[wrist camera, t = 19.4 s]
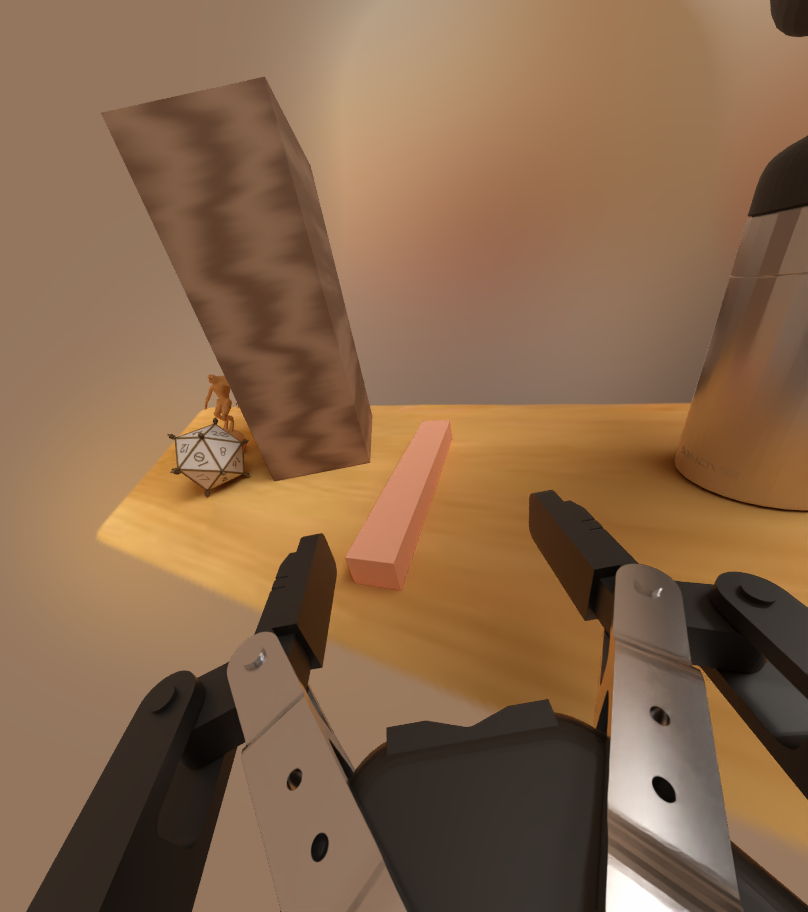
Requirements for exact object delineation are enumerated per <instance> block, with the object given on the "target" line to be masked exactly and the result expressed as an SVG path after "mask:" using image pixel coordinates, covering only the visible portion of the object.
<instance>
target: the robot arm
mask: <svg viewBox="0 0 808 912" xmlns="http://www.w3.org/2000/svg"><path fill="white" fill-rule="evenodd" d="M770 4H771V15H772V18H773V20H774V23H775V25H776V27H777V29H779V30H780V31H781V32H783V33H784V34H786V35H788V36H793V37H803V36H808V0H770ZM748 216H752V218H749V219H748V220H747V221H746V225H745V228H744V232H743V235H742V238H741V241H740V245H739V248H738V251H737V254H736V258H735V261H734V265H733V268H732V271H731V276H730V279H729V282H728V285H727V288H726V292H725V295H724V298H723V301H722V305H721V308H720V311H719V315H718V318H717V322H716V324H715V328H714V331H713V334H712V338H711V341H710V344H709V347H708V351H707V354H706V357H705V361H704V364H703V367H702V370H701V374H700V377H699V381H698V384H697V387H696V390H695V393H694V397H693V400H692V403H691V406H690V410H689V413H688V416H687V419H686V423H685V426H684V429H683V433H682V436H681V439H680V442H679V446H678V449H677V452H676V456H675V466H676V468H677V470H678V471H679V472H680V473H681V474H682V475H683V476H684V477H686V478H687V479H689V480H690V481H692V482H693V483H695V484H697V485H699V486H701V487H703V488H705V489H707V490H709V491H712V492H715V493H717V494H720V495H722V496H725V497H729V498H732V499H735V500H739V501H742V502H746V503H751V504H756V505H760V506H766V507H773V508H780V509H790V510H808V136H806V137H804V138H803V139H801V140H799V141H798V142H796V143H794V144H792V145H790V146H789V147H787V148H786V149H785V150H783V151H782V152H781V153H779V154H778V155H777V156H775V157H774V158H773V159H772V160H771V161H770V162H769V163H768V165H767V166H766V168H765V170H764V171H763V173H762V175H761V177H760V179H759V182H758V185H757V187H756V190H755V194H754V197H753V200H752V204H751V207H750V210H749V213H748ZM529 529H530V533H531V536H532V538H533V540H534V542H535V543H536V545H537V547H538V548H539V550H540V551H541V553H542V554H543V556H544V558H545V559H546V561H547V562H548V564H549V565H550V567H551V568H552V570H553V572H554V573H555V575H556V576H557V578H558V579H559V581H560V583H561V584H562V586H563V587H564V589H565V590H566V592H567V594H568V595H569V597H570V598H571V600H572V601H573V603H574V605H575V606H576V608H577V609H578V611H579V612H580V614H581V616H582V617H583V619H584V620H585V621H588V620H593V619H598V620H599V621H600V623H601V624H602V626H603V627H604V628H603V633H602V645H601V657H600V670H599V682H598V692H597V700H596V706H595V713H594V721H593V727H592V726H590V725H588V724H586V723H584V722H583V721H580V720H578V719H576V718H573V717H571V716H567V715H564V714H560V713H555V712H553V710H552V707H551V705H550V703H549V700H548V699H546V700H540V701H535V702H529V703H523V704H518V705H512V706H507V707H506V708H504V709H502V710H500V711H499V712H497V713H495V714H493V715H491V716H490V717H488V718H486V719H484V720H483V721H481V722H479V723H477V724H475V725H474V726H471V727H462V726H456V725H450V724H444V723H437V722H430V721H422V722H415V723H410V724H404V725H399V726H393V727H388V728H387V742H385V743H383V744H381V745H380V746H379V747H377V748H376V749H375V750H373V751H372V752H371V753H370V754H369V755H368V756H367V757H366V758H365V759H364V760H363V761H362V762H361V764H360V765H359V766H358V767H357V769H356V770H354V767H353V766H352V764H351V762H350V760H349V758H348V757H347V755H346V753H345V751H344V750H343V748H342V746H341V745H340V743H339V741H338V739H337V738H336V736H335V734H334V732H333V730H332V728H331V726H330V724H329V722H328V721H327V718H326V717H325V715H324V713H323V711H322V709H321V707H320V705H319V703H318V701H317V699H316V697H315V695H314V694H313V692H312V690H311V688H310V686H309V684H308V680H309V675H310V670H311V669H316V668H322V666H323V660H324V654H325V647H326V641H327V634H328V628H329V622H330V615H331V609H332V602H333V596H334V590H335V583H336V576H337V570H336V563H335V560H334V558H333V555H332V553H331V550H330V548H329V546H328V543H327V541H326V538H325V536H324V535H323V534H322V533H320V534H315V535H310V536H305V537H302V538H301V540H300V543H299V546H298V549H297V552H294V553H290V554H289V555H288V556H287V558H286V559H285V560H284V561H283V563H282V564H281V565H280V568H279V570H278V573H277V576H276V580H275V581H274V584H273V586H272V591H271V592H270V594H269V597H268V600H267V602H266V605H265V608H264V610H263V613H262V616H261V618H260V621H259V624H258V627H257V629H256V632H255V634H254V635H253V636H251V637H250V638H248V639H247V640H246V641H245V642H243V643H242V644H241V645H240V646H239V647H238V649H237V650H236V651H235V652H234V654H233V655H232V657H231V659H230V661H229V662H228V663H226V664H224V665H222V666H220V667H218V668H216V669H214V670H212V671H210V672H208V673H206V674H204V675H202V676H200V677H198V678H197V677H195V675H193V674H192V673H191V672H189V671H179V672H176V673H174V674H171V675H170V676H168V677H166V678H165V679H163V680H162V681H161V682H160V683H158V684H157V685H156V686H155V687H154V688H153V689H152V690H151V691H150V692H149V693H148V694H147V696H146V697H145V698H144V700H143V701H142V702H141V704H140V705H139V707H138V709H137V711H136V713H135V715H134V716H133V718H132V720H131V722H130V724H129V725H128V727H127V729H126V731H125V733H124V734H123V736H122V738H121V740H120V742H119V744H118V745H117V747H116V749H115V751H114V753H113V754H112V756H111V758H110V760H109V762H108V764H107V765H106V767H105V769H104V771H103V773H102V775H101V776H100V778H99V780H98V782H97V784H96V786H95V787H94V789H93V791H92V793H91V795H90V796H89V799H88V800H87V802H86V804H85V806H84V808H83V809H82V811H81V813H80V815H79V817H78V819H77V820H76V822H75V824H74V826H73V827H72V829H71V831H70V833H69V835H68V837H67V839H66V840H65V842H64V844H63V846H62V848H61V849H60V851H59V853H58V855H57V857H56V858H55V860H54V862H53V864H52V866H51V868H50V869H49V871H48V873H47V875H46V877H45V879H44V881H43V882H42V884H41V886H40V888H39V890H38V892H37V893H36V895H35V897H34V899H33V901H32V902H31V904H30V906H29V908H28V910H27V912H192V909H193V905H194V902H195V898H196V894H197V891H198V887H199V884H200V880H201V877H202V873H203V869H204V866H205V862H206V858H207V854H208V851H209V848H210V844H211V840H212V837H213V833H214V829H215V826H216V822H217V818H218V815H219V811H220V808H221V804H222V801H223V797H224V793H225V790H226V786H227V782H228V779H229V775H230V772H231V768H232V764H233V761H234V757H235V754H236V749H237V746H239V745H241V744H243V743H244V742H246V747H245V748H244V749H243V750H242V762H243V767H244V771H245V775H246V779H247V782H248V786H249V790H250V794H251V798H252V801H253V805H254V809H255V813H256V817H257V821H258V825H259V828H260V832H261V836H262V840H263V844H264V848H265V851H266V855H267V859H268V863H269V867H270V871H271V874H272V878H273V882H274V886H275V890H276V894H277V897H278V901H279V905H280V909H281V911H280V912H808V905H807V904H805V903H804V902H803V901H802V900H801V899H800V898H798V897H797V896H796V895H795V894H794V893H792V892H791V891H790V890H789V889H788V888H787V887H785V886H784V885H783V884H782V883H781V882H779V881H778V880H777V879H776V878H775V877H773V876H772V875H771V874H770V873H769V872H768V871H766V870H765V869H764V868H763V867H762V866H760V865H759V864H758V863H757V862H756V861H754V860H753V859H752V858H751V857H750V856H748V855H747V854H746V853H745V852H743V850H741V849H740V848H739V847H738V846H736V845H735V844H734V843H733V842H732V841H731V840H730V837H729V831H728V824H727V818H726V812H725V806H724V800H723V793H722V787H721V781H720V775H719V768H718V762H717V756H716V750H715V744H714V737H713V731H712V725H711V719H710V712H709V706H708V700H707V694H706V688H705V682H704V678H703V676H702V673H701V671H700V670H699V669H697V668H694V667H693V666H692V665H698V666H700V667H701V668H702V670H703V671H704V672H705V673H706V674H707V676H708V677H709V678H710V679H711V681H712V682H713V683H714V684H715V686H716V687H717V688H718V689H719V691H720V692H721V693H722V694H723V696H724V697H725V698H726V699H727V700H728V702H729V703H730V704H731V705H732V707H733V708H734V709H735V710H736V712H737V713H738V714H739V715H740V717H741V718H742V719H743V720H744V722H745V723H746V724H747V725H748V726H749V728H750V729H751V730H752V731H753V733H754V734H755V735H756V736H757V738H758V739H759V740H760V741H761V743H762V744H763V745H764V746H765V747H766V749H767V750H768V751H769V752H770V754H771V755H772V756H773V757H774V759H775V760H776V761H777V762H778V764H779V765H780V766H781V767H782V769H783V770H784V771H785V772H786V773H787V775H788V776H789V777H790V778H791V780H792V781H793V782H794V783H795V785H796V786H797V787H798V788H799V790H800V791H801V792H802V793H803V795H804V796H805V797H806V798H807V799H808V607H806V606H805V605H804V604H802V603H801V602H800V601H798V600H797V599H796V598H794V597H793V596H792V595H791V594H789V593H788V592H787V591H785V590H784V589H782V588H781V587H779V586H778V585H776V584H774V583H772V582H770V581H768V580H766V579H763V578H761V577H758V576H755V575H752V574H748V573H742V572H726V573H723V574H721V575H719V576H718V578H717V579H716V581H715V584H714V585H712V584H701V583H690V582H680V581H674V580H673V579H672V578H670V577H669V576H668V575H666V574H665V573H663V572H662V571H660V570H658V569H655V568H653V567H650V566H647V565H642V564H639V563H638V562H636V561H635V559H634V558H633V557H632V556H631V555H630V554H629V553H628V552H627V551H626V550H625V549H624V548H623V547H622V546H621V545H620V544H619V543H618V542H617V541H616V540H615V539H614V538H613V537H612V536H611V535H610V534H609V533H608V532H607V531H606V530H605V529H603V527H602V526H601V525H600V524H599V523H598V522H597V521H595V519H594V518H593V517H592V516H591V515H590V513H589V512H588V511H587V510H586V509H585V508H583V507H581V506H579V505H577V504H576V503H574V502H572V501H565V502H564V501H563V500H562V499H561V498H560V497H559V496H558V495H557V494H556V493H555V492H554V491H553V490H548V491H542V492H537V493H532V494H531V495H530V499H529Z"/></svg>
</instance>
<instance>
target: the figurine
mask: <svg viewBox="0 0 808 912" xmlns="http://www.w3.org/2000/svg"><path fill="white" fill-rule="evenodd" d="M208 378H209V382H210V383H212V384H213V385H212V386H211V387H210V389H209V392H208V395H207V397H206V402H205V409H206V408H207V403H208V401H209V399H210V397H211V394H212V391H213V390H214V392H215V393H216V394H217V396H218V397H219V399H217V406H216V409H215V412H214V415H215V416H216V417H217V418H219V419H221V420H223V421H225V425H224V428H223V429H224V430H225V431H227V432H228V433H230V434H231V435H233V436H234V437H235V438H237V439H238V440H240V441H241V442H242V441H243V440H244V439H245V437H244V436H243V435H242V434H241V433H240V432H238V431H235V430H233V428H234V420H233V417H232V416H228V413H229V411H230V409H231V404H232V402H231V400H230V399H229V393H230V386H229V384H228V382H227V380H226V377H225V376H214V375H209V376H208ZM237 404H238V403H237ZM237 404H236V405H237ZM238 408H239V405H238ZM221 412H222V415H223V416H220V414H221ZM227 419H228V420H230V421H231V424H230V428H229V429H228V420H227ZM245 447H246V443H245V444H244V445H243V451H244V449H245Z"/></svg>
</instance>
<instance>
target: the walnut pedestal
mask: <svg viewBox="0 0 808 912" xmlns="http://www.w3.org/2000/svg"><path fill="white" fill-rule="evenodd" d="M101 114H102V116H103V118H104V120H105V122H106V124H107V127H108V129H109V131H110V133H111V135H112V137H113V139H114V141H115V143H116V146H117V148H118V150H119V152H120V154H121V156H122V158H123V161H124V163H125V165H126V167H127V169H128V171H129V173H130V175H131V178H132V180H133V182H134V184H135V186H136V188H137V190H138V192H139V195H140V196H141V199H142V201H143V203H144V205H145V207H146V209H147V211H148V214H149V216H150V218H151V220H152V222H153V224H154V226H155V229H156V230H157V233H158V235H159V237H160V239H161V241H162V243H163V245H164V248H165V250H166V252H167V254H168V256H169V258H170V261H171V263H172V265H173V267H174V269H175V271H176V273H177V275H178V278H179V279H180V282H181V284H182V286H183V288H184V290H185V292H186V294H187V297H188V299H189V301H190V303H191V305H192V307H193V309H194V311H195V314H196V316H197V318H198V320H199V322H200V324H201V326H202V328H203V330H204V333H205V335H206V337H207V339H208V341H209V343H210V345H211V347H212V350H213V352H214V354H215V356H216V358H217V360H218V363H219V365H220V367H221V369H222V371H223V373H224V375H225V377H226V380H227V382H228V384H229V386H230V388H231V390H232V392H233V394H234V397H235V399H236V401H237V403H238V405H239V407H240V409H241V411H242V414H243V416H244V418H245V420H246V422H247V424H248V426H249V428H250V431H251V433H252V435H253V437H254V439H255V441H256V443H257V445H258V448H259V450H260V452H261V454H262V456H263V458H264V460H265V462H266V465H267V467H268V469H269V471H270V473H271V475H272V477H273V479H274V481H277V480H283V479H288V478H293V477H298V476H303V475H308V474H313V473H318V472H323V471H328V470H334V469H339V468H344V467H349V466H354V465H359V464H364V463H369V462H370V451H371V432H372V413H371V409H370V405H369V401H368V397H367V393H366V389H365V385H364V381H363V377H362V373H361V369H360V365H359V360H358V357H357V353H356V349H355V344H354V340H353V336H352V333H351V328H350V324H349V320H348V316H347V312H346V308H345V304H344V300H343V296H342V292H341V288H340V284H339V279H338V276H337V272H336V267H335V263H334V259H333V256H332V251H331V248H330V243H329V239H328V235H327V231H326V227H325V223H324V219H323V215H322V211H321V207H320V203H319V199H318V195H317V190H316V186H315V182H314V178H313V174H312V170H311V166H310V164H309V162H308V160H307V158H306V156H305V154H304V152H303V151H302V148H301V147H300V144H299V143H298V141H297V139H296V137H295V135H294V133H293V131H292V129H291V127H290V125H289V123H288V121H287V119H286V117H285V116H284V113H283V111H282V109H281V108H280V106H279V104H278V102H277V100H276V98H275V96H274V94H273V92H272V90H271V88H270V86H269V84H268V82H267V80H266V78H265V77H261V78H257V79H252V80H248V81H244V82H239V83H235V84H230V85H225V86H221V87H216V88H212V89H207V90H202V91H198V92H194V93H189V94H184V95H180V96H175V97H171V98H167V99H162V100H157V101H153V102H148V103H144V104H139V105H135V106H130V107H126V108H121V109H117V110H112V111H108V112H103V113H101Z"/></svg>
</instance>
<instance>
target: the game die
mask: <svg viewBox="0 0 808 912" xmlns="http://www.w3.org/2000/svg"><path fill="white" fill-rule="evenodd" d="M213 423H214V424H212V425H209V426H207V427H204V428H201V429H198V430H196V431H193V432H190V433H187V434H185V435H182V436H179V437H175V436H174V435H173V434H168V436H169V438H171V439H174V440H175V447H176V459H177V468H175V469H172V471H171V472H170V473H174V474H180V473H182V474H184V475H185V476H187V477H188V478H190V479H191V480H192V481H194V482H195V483H197V484H198V485H199V486H201V487H202V488H204V489H205V490H206V492H205V494H204V495H205V496H206V497H208V496H209V495H210V492H209V490H211V489H213V488H215V487H217V486H219V485H222V484H224V483H226V482H228V481H230V480H232V479H234V478H236V477H238V476H241V475H244V476H246V477H250V475H249V473H245V472H244V455H243V445H244V444H245V443H247V442H248V440H246V439H244V440H243V441H242V442H241V441H240V440H238V439H237V438H235V437H234V436H233V435H231V434H230V433H228V432H227V431H225V430H224V429H222V428H221V427H220V426H218V425H217V423H218V420H217V418H216V417H215V418H214V419H213Z"/></svg>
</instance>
